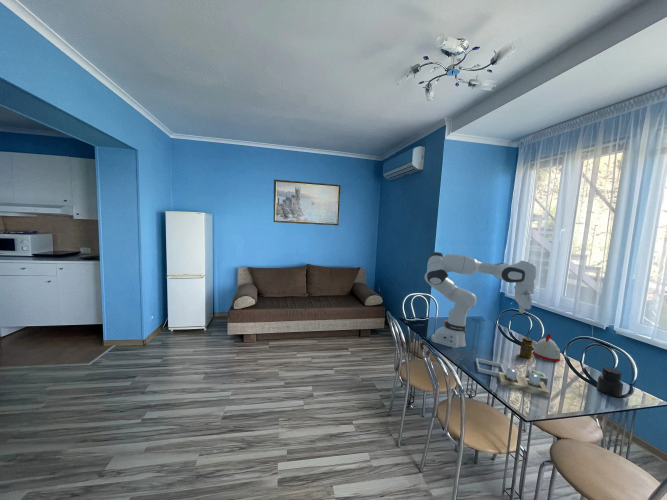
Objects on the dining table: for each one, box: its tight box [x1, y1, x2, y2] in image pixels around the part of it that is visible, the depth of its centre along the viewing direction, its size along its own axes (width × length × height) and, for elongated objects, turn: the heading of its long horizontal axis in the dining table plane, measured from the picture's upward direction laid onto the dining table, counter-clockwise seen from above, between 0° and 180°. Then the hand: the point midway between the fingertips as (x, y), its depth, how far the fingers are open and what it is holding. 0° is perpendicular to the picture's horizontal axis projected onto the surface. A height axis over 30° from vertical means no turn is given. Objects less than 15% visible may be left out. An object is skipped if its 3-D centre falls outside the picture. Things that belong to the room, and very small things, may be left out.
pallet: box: [497, 371, 551, 398], centre depth 137 cm, size 20×10×3 cm, turn 67°
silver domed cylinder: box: [505, 367, 518, 382], centre depth 139 cm, size 4×4×7 cm
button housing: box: [526, 368, 549, 386], centre depth 144 cm, size 7×7×4 cm
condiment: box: [515, 337, 534, 362], centre depth 171 cm, size 7×8×12 cm
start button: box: [533, 370, 542, 377], centre depth 144 cm, size 4×4×3 cm
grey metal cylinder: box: [528, 373, 540, 388], centre depth 135 cm, size 4×4×7 cm
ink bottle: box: [596, 366, 624, 398], centre depth 136 cm, size 10×9×12 cm
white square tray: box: [475, 357, 506, 377], centre depth 153 cm, size 13×13×2 cm
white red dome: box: [532, 333, 561, 362], centre depth 174 cm, size 14×14×15 cm
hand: (521, 312), depth 155 cm, fingers closed
